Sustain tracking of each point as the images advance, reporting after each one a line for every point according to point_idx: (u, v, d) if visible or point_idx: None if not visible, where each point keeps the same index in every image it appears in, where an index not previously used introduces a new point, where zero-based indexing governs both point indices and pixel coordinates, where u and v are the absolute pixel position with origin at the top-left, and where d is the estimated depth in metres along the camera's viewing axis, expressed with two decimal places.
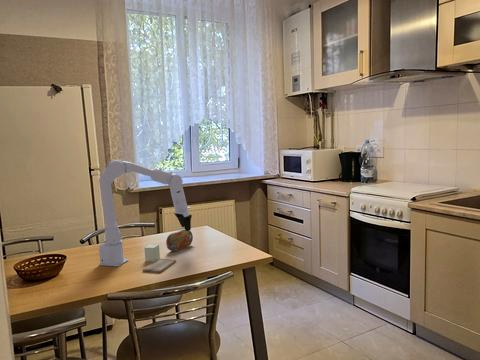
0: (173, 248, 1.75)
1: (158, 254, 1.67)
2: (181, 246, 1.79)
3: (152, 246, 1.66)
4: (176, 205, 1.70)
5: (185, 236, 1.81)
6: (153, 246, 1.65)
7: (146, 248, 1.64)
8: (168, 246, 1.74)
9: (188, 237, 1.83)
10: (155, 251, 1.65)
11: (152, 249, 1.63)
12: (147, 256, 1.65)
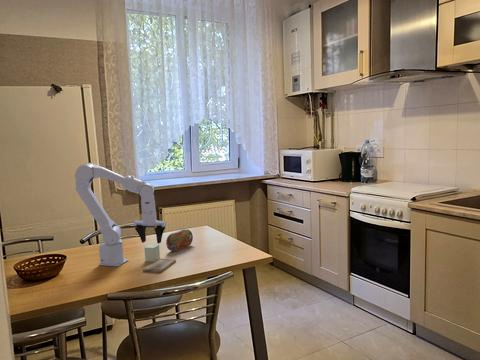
0: (173, 248, 1.75)
1: (158, 254, 1.67)
2: (181, 246, 1.79)
3: (152, 246, 1.66)
4: (150, 216, 1.61)
5: (185, 236, 1.81)
6: (153, 246, 1.65)
7: (146, 248, 1.64)
8: (168, 246, 1.74)
9: (188, 237, 1.83)
10: (155, 251, 1.64)
11: (152, 249, 1.63)
12: (147, 256, 1.65)
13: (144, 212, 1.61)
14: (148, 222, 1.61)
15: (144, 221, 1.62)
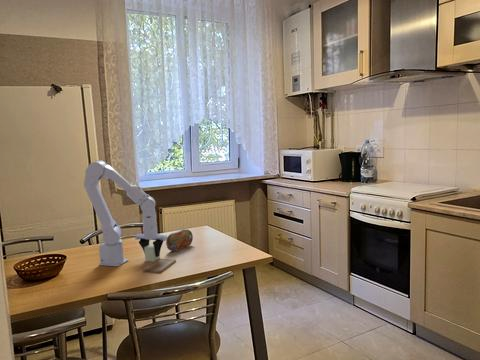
0: (173, 248, 1.75)
1: None
2: (181, 246, 1.79)
3: (152, 245, 1.66)
4: (151, 230, 1.62)
5: (185, 236, 1.81)
6: (153, 246, 1.65)
7: (146, 248, 1.64)
8: (168, 246, 1.74)
9: (188, 237, 1.83)
10: None
11: (152, 249, 1.63)
12: (147, 256, 1.65)
13: (145, 226, 1.62)
14: (149, 236, 1.62)
15: (145, 235, 1.63)
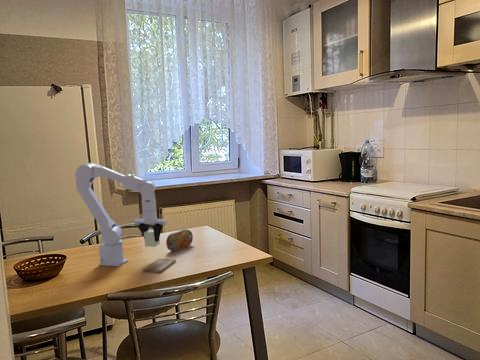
0: (173, 248, 1.75)
1: None
2: (181, 246, 1.79)
3: (152, 231, 1.64)
4: (151, 214, 1.60)
5: (185, 236, 1.81)
6: (153, 231, 1.63)
7: (146, 233, 1.62)
8: (168, 246, 1.74)
9: (188, 237, 1.83)
10: None
11: (152, 234, 1.61)
12: (147, 241, 1.63)
13: (144, 210, 1.60)
14: (149, 220, 1.60)
15: (145, 219, 1.61)
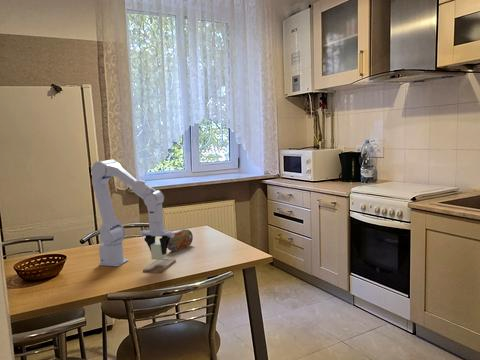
0: (173, 248, 1.75)
1: None
2: (181, 246, 1.79)
3: (159, 243, 1.56)
4: (157, 226, 1.53)
5: (185, 236, 1.81)
6: (160, 243, 1.56)
7: (152, 245, 1.55)
8: (168, 246, 1.74)
9: (188, 237, 1.83)
10: None
11: (159, 246, 1.54)
12: (153, 254, 1.55)
13: (149, 221, 1.53)
14: (155, 232, 1.53)
15: (151, 231, 1.53)
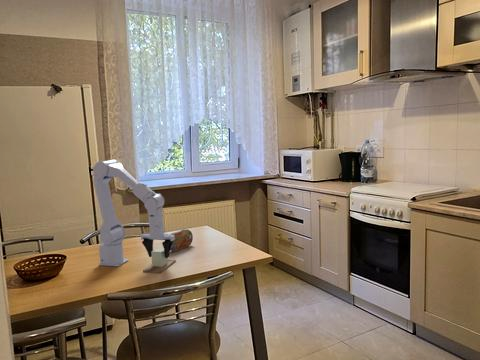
0: (173, 248, 1.75)
1: (166, 259, 1.58)
2: (181, 246, 1.79)
3: (160, 250, 1.57)
4: (158, 229, 1.53)
5: (185, 236, 1.81)
6: (160, 250, 1.56)
7: (153, 252, 1.55)
8: None
9: (188, 237, 1.83)
10: (163, 255, 1.56)
11: (160, 253, 1.54)
12: (154, 261, 1.56)
13: (149, 225, 1.54)
14: (156, 236, 1.53)
15: (151, 235, 1.54)
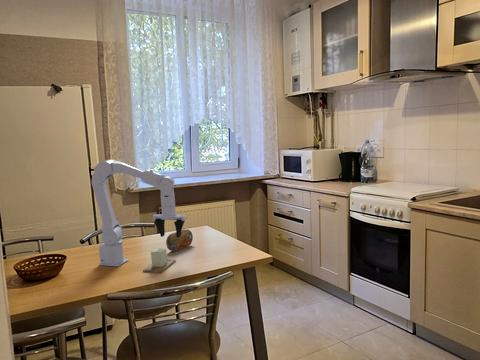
0: (173, 248, 1.75)
1: (165, 259, 1.58)
2: (181, 246, 1.79)
3: (159, 250, 1.57)
4: (170, 210, 1.59)
5: (185, 236, 1.81)
6: (160, 250, 1.56)
7: (153, 253, 1.55)
8: (168, 246, 1.74)
9: (188, 237, 1.83)
10: (162, 255, 1.55)
11: (159, 253, 1.54)
12: (154, 261, 1.55)
13: (163, 205, 1.59)
14: (168, 216, 1.59)
15: (164, 215, 1.60)
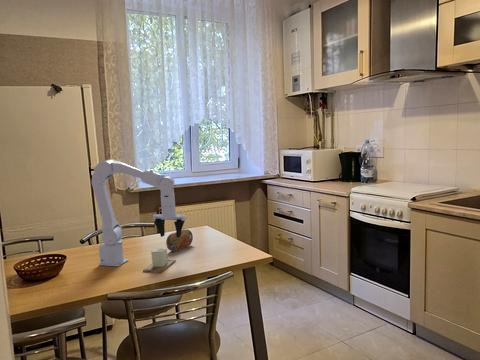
0: (173, 248, 1.75)
1: (166, 259, 1.58)
2: (181, 246, 1.79)
3: (160, 250, 1.57)
4: (170, 210, 1.59)
5: (185, 236, 1.81)
6: (161, 250, 1.56)
7: (153, 252, 1.55)
8: (168, 246, 1.74)
9: (188, 237, 1.83)
10: (163, 255, 1.55)
11: (160, 253, 1.54)
12: (154, 261, 1.55)
13: (163, 205, 1.59)
14: (168, 216, 1.59)
15: (164, 215, 1.60)
